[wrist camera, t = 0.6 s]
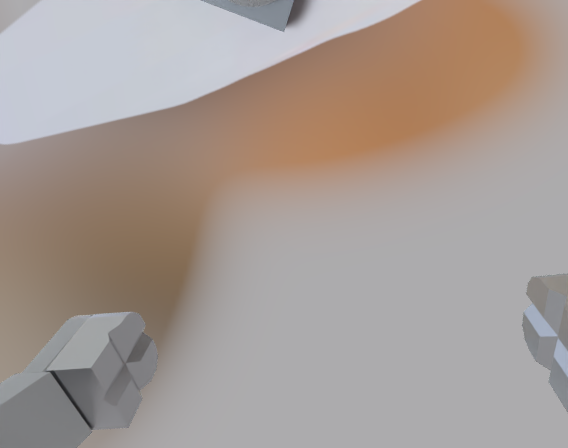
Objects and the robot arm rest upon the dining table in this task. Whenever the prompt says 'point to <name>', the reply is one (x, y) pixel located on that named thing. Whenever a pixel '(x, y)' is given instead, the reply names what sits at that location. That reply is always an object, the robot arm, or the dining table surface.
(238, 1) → the pan
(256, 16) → the scale
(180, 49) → the dining table surface
